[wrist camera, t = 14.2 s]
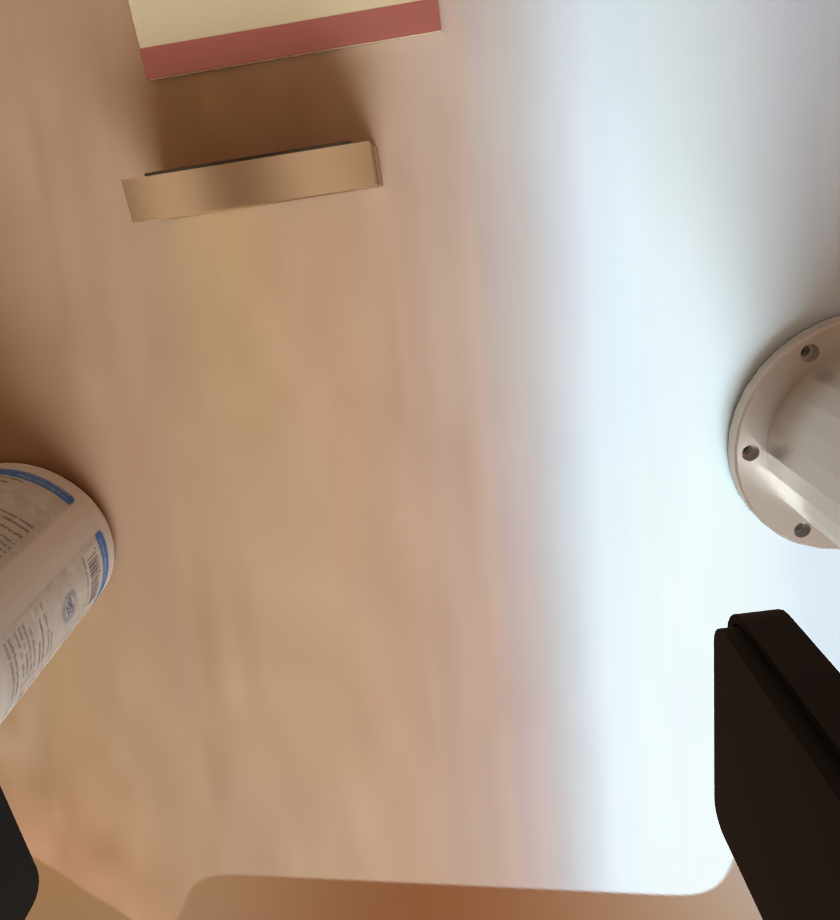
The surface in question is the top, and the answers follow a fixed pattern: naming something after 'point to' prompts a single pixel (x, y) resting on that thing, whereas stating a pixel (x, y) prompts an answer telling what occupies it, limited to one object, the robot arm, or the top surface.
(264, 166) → the tan rectangular block
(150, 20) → the notepad
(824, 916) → the robot arm
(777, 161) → the top surface
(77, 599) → the supplement tub
